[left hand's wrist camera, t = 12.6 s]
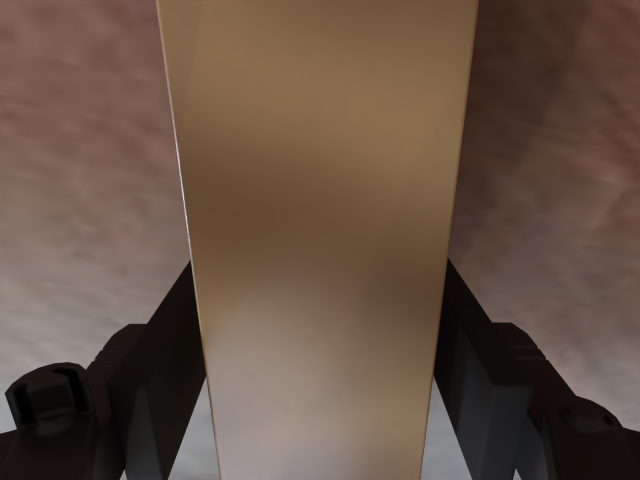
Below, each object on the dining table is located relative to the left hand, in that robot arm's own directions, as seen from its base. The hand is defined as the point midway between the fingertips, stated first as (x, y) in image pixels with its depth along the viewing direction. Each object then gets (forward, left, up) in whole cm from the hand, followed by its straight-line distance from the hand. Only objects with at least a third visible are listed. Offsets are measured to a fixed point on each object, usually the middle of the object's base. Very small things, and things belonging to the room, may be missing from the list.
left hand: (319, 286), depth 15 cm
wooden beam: (+20, -22, -2) cm, 30 cm away
